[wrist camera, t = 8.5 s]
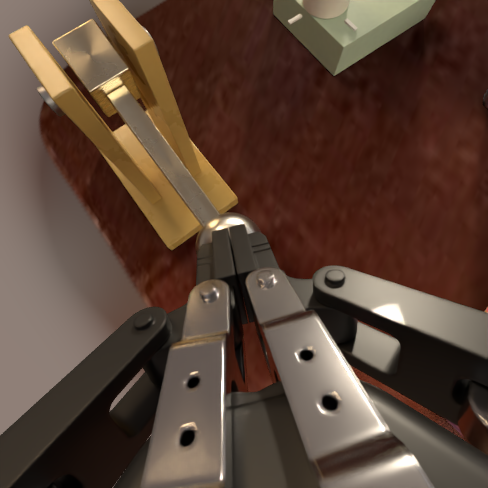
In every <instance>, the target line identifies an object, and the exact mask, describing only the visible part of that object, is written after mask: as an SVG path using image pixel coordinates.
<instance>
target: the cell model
mask: <svg viewBox="0 0 488 488" xmlns="http://www.w3.org/2000/svg"><path fill="white" fill-rule="evenodd" d="M483 105H484V106H485V108H486V109H487V110H488V90H487V91H486V93H485V94H484V97H483Z"/></svg>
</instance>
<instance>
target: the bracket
mask: <svg viewBox="0 0 488 488" xmlns="http://www.w3.org/2000/svg"><path fill="white" fill-rule="evenodd" d="M89 1H90V3H91V5H92V7H93V8H94V10H95V12H96V14H97V16H98V18H99V20H100V22H101V24H102V26H103V27H104V29H105V31H106V33H107V35H108V37H109V39H110V41H111V43H112V44H113V46H114V48H115V49H116V50H117V52H118V53H119V54H120V56H121V57H122V59H123V60H124V61H125V63H126V64H127V65H128V67H129V69H130V71H131V73H132V75H133V78H134V80H135V82H136V85H137V87H138V89H139V91H140V94H141V99H142V101H143V103H144V105H145V107H146V109H147V111H145V112H146V114H147V115H148V116H149V118H150V119H151V121H152V122H153V123H154V125H155V126H156V127H157V129H158V130H159V131H160V133H161V134H162V136H163V137H164V138H165V140H166V141H167V142H168V144H169V145H170V146H171V148H172V149H173V151H174V152H175V153H176V155H177V156H178V157H179V159H180V160H181V161H182V163H183V164H184V166H185V167H186V168H187V170H188V171H189V172H190V174H191V175H192V176H193V178H194V179H195V181H196V182H197V183H198V185H199V186H200V187H201V189H202V190H203V191H204V193H205V194H206V195H207V197H208V198H209V200H210V201H211V202H212V204H213V205H214V206H215V208H216V209H217V210H218V212H219V213H220V214H222V213H225V212H226V211H228V210H229V209H230V208H232V207H233V206H235V205H236V204H237V203H238V199H237V196H236V195H235V194H234V193H233V192H232V190H231V189H230V188H229V187H228V185H227V184H226V183H225V182H224V180H223V179H222V178H221V177H220V176H219V174H218V173H217V172H216V171H215V169H214V168H213V167H212V166H211V165H210V163H209V162H208V161H207V160H206V158H205V157H204V156H203V155H202V153H201V152H200V151H199V150H198V149H197V147H196V146H195V145H194V144H193V142H192V141H191V140H190V139H189V136H188V134H187V131H186V128H185V125H184V123H183V120H182V117H181V115H180V112H179V109H178V106H177V104H176V101H175V98H174V96H173V93H172V90H171V88H170V85H169V82H168V79H167V77H166V74H165V71H164V69H163V66H162V63H161V60H160V58H159V53H158V50H157V47H156V45H155V43H154V41H153V39H152V37H151V36H150V34H149V33H148V31H147V30H146V29H145V28H144V27H141V25H140V24H139V23H138V22H137V21H136V20H135V18H134V17H133V16H132V15H131V14H130V13H129V12H128V11H127V9H126V8H125V7H124V6H123V5H122V4H121V2H120V1H119V0H89ZM9 38H10V40H11V41H12V43H13V44H14V45H15V47H16V48H17V50H18V51H19V53H20V54H21V56H22V57H23V58H24V60H25V61H26V63H27V64H28V66H29V67H30V69H31V70H32V71H33V73H34V74H35V76H36V77H37V78H38V80H39V82H40V83H41V84H42V86H40V87H38V88H37V91H38V93H39V94H40V96H41V97H42V98H43V99H44V101H45V102H46V103H47V104H48V105H49V106H50V108H51V109H52V110H53V111H54V112H55V113H56V114H57V115H59V116H60V117H61V116H63V115H65V114H66V115H67V116H68V117H69V118H70V119H71V120H72V121H73V122H74V123H75V124H76V125H77V126H78V127H79V128H80V130H81V131H82V132H83V133H84V134H85V135H86V136H87V137H88V138H89V139H90V140H91V141H92V142H93V143H94V144H95V145H96V147H97V148H98V150H99V151H100V152H101V154H102V155H103V157H104V158H105V159H106V161H107V162H108V164H109V165H110V167H111V168H112V169H113V171H114V172H115V174H116V175H117V176H118V178H119V179H120V181H121V182H122V184H123V185H124V186H125V188H126V189H127V191H128V192H129V193H130V195H131V196H132V198H133V199H134V201H135V202H136V203H137V205H138V206H139V208H140V209H141V210H142V212H143V213H144V215H145V216H146V218H147V219H148V220H149V222H150V223H151V225H152V226H153V227H154V229H155V230H156V232H157V233H158V235H159V236H160V237H161V239H162V240H163V242H164V243H165V244H166V246H167V247H168V248H169V249H171V250H173V249H175V248H176V247H178V246H179V245H180V244H182V243H183V242H184V241H186V240H187V239H189V238H190V237H191V236H193V235H194V234H196V233H197V232H198V231H200V229H201V228H202V226H201V225H200V223H199V222H198V221H197V219H196V218H195V217H194V215H193V214H192V213H191V211H190V210H189V208H188V207H187V206H186V204H185V203H184V202H183V200H182V199H181V198H180V196H179V195H178V194H177V192H176V191H175V190H174V188H173V187H172V186H171V184H170V183H169V181H168V180H167V179H166V177H165V176H164V175H163V173H162V172H161V171H160V169H159V168H158V167H157V165H156V164H155V163H154V161H153V160H152V159H151V157H150V156H149V154H148V153H147V152H146V150H145V149H144V148H143V146H142V145H141V144H140V142H139V141H138V140H137V138H136V137H135V136H134V134H133V133H132V132H131V130H130V129H129V127H128V126H127V125H126V124H125V125H123V126H122V127H120V128H119V129H117V130H115V131H114V132H112V131H111V130H110V129H109V127H108V126H107V125H106V123H105V122H104V121H103V120H102V118H101V117H100V116H99V115H98V113H97V112H96V111H95V110H94V108H93V107H92V106H91V105H90V103H89V102H88V101H87V99H86V98H85V97H84V96H83V94H82V93H81V92H80V91H79V89H78V88H77V87H76V86H75V84H74V83H73V82H72V80H71V79H70V78H69V77H68V75H67V74H66V73H65V72H64V70H63V69H62V68H61V67H60V66H59V64H58V63H57V61H56V60H55V59H54V58H53V57H52V55H51V54H50V53H49V52H48V50H47V49H46V48H45V46H44V45H43V44H42V42H41V41H40V40H39V39H38V37H37V36H36V35H35V34H34V32H33V31H32V30H31V29H30V27H29V26H24V27H22V28H20V29H19V30H17V31H15V32H13V33H11V34H10V35H9Z"/></svg>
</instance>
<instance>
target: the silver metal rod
mask: <svg viewBox="0 0 488 488" xmlns="http://www.w3.org/2000/svg"><path fill="white" fill-rule="evenodd" d="M53 45H54V46H55V47H56V49H57V50H58V51H59V53H60V54H61V55H62V57H63V58H64V59H65V61H66V62H67V64H68V65H69V66H70V68H71V69H72V70H73V72H74V73H75V74H76V76H77V77H78V78H79V80H80V81H81V82H82V84H83V85H84V86H85V88H86V89H87V90H88V92H89V93H90V94H91V96H92V97H93V98H94V100H95V101H96V102H97V104H98V105H99V106H100V108H101V109H102V110H103V112H104V113H105V114H106V116H108V117H110V116H111V115H113V114H114V113H116V112H117V113H118V114H119V115H120V117H121V118H122V119H123V121H124V122H125V123H126V125H127V126H128V127H129V129H130V130H131V132H132V133H133V134H134V136H135V137H136V138H137V140H138V141H139V142H140V144H141V145H142V146H143V148H144V149H145V150H146V152H147V153H148V154H149V156H150V157H151V159H152V160H153V161H154V163H155V164H156V165H157V167H158V168H159V169H160V171H161V172H162V173H163V175H164V176H165V177H166V179H167V180H168V181H169V183H170V184H171V186H172V187H173V188H174V190H175V191H176V192H177V194H178V195H179V196H180V198H181V199H182V200H183V202H184V203H185V204H186V206H187V207H188V208H189V210H190V211H191V213H192V214H193V215H194V217H195V218H196V219H197V221H198V222H199V223H200V225H201V226H202V228H201V229H200V231H199V233H198V236H197V240H196V254H197V252H198V250H199V249H200V247H201V246H202V244H207V243H211V242H212V233H211V231H215V230H219V229H223V228H228V231H229V227H232V226H236V225H240V224H245V227H246V230H247V233H248V234H250V233H254V232H258V231H259V232H260V233H261V231H260V229H259V228H258V226H257V225H256V224H255V223H254V222H253V221H252V220H251V219H249V218H248V217H246V216H244V215H241V214H238V213H222V214H220V213H219V212H218V210H217V209H216V208H215V206H214V205H213V204H212V202H211V201H210V200H209V198H208V197H207V195H206V194H205V193H204V191H203V190H202V189H201V187H200V186H199V185H198V183H197V182H196V181H195V179H194V178H193V176H192V175H191V174H190V172H189V171H188V170H187V168H186V167H185V166H184V164H183V163H182V161H181V160H180V159H179V157H178V156H177V155H176V153H175V152H174V151H173V149H172V148H171V146H170V145H169V144H168V142H167V141H166V140H165V138H164V137H163V136H162V134H161V133H160V131H159V130H158V129H157V127H156V126H155V125H154V123H153V122H152V121H151V119H150V118H149V116H148V115H147V114H146V112H145V111H144V110H143V108H142V107H141V106H140V104H139V103H138V101H137V99H138V98H140V97H141V94H140V91H139V89H138V87H137V85H136V82H135V80H134V78H133V75H132V73H131V71H130V69H129V67H128V65H127V64H126V63H125V61H124V60H123V59H122V57H121V56H120V54H119V53H118V52H117V50H116V49H115V48H114V46H113V45H112V44H111V42H110V41H109V39H108V38H107V37H106V35H105V34H104V33H103V31H102V30H101V28H100V27H99V26H98V24H97V23H96V22H95V20H94V19H91V20H89V21H87V22H86V23H84V24H82V25H80V26H78V27H77V28H75V29H73V30H71V31H70V32H68V33H66V34H64V35H63V36H61V37H59V38H57V39H56V40H54V41H53ZM229 235H230V231H229ZM230 239H231V237H230ZM231 244H232V242H231ZM232 248H233V247H232Z"/></svg>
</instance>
